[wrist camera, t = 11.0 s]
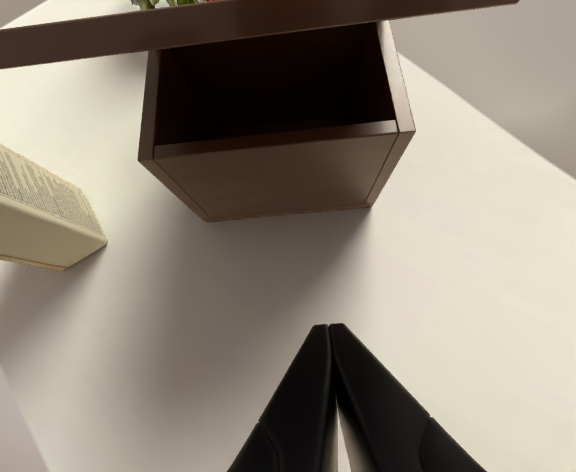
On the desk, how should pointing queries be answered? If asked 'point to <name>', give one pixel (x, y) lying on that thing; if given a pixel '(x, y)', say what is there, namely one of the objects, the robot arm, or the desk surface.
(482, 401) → the desk surface
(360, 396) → the robot arm
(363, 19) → the lid
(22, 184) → the cosmetic box
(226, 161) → the bin
